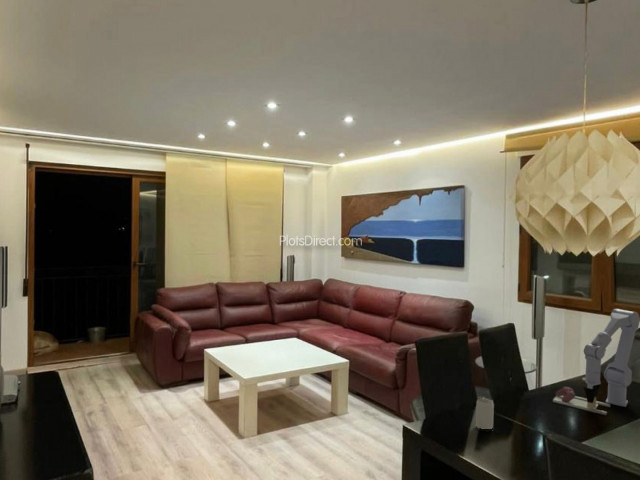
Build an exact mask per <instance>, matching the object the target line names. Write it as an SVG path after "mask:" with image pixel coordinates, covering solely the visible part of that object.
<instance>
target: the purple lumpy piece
mask: <svg viewBox="0 0 640 480" xmlns="http://www.w3.org/2000/svg"><path fill="white" fill-rule="evenodd" d="M562 395H564V396H563V398H562V401H564V402H569V401H571V400H572V399H574V398H575V396H576V393H575V391H574V389H573V388H571V387H569V386H566V385H565V386H563V387H562V388H561V389H558V390H557V391H556V392H555V396H562Z"/></svg>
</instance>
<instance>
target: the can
mask: <svg viewBox="0 0 640 480" xmlns="http://www.w3.org/2000/svg"><path fill="white" fill-rule="evenodd" d="M494 408H495V404H494V400H493V398H492V397H488V396H478V397H477V400H476V407H475V427H476V426H477V427H478V428H481V429H492V428H493V429H494V413H495V411H494Z"/></svg>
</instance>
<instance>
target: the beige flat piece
mask: <svg viewBox="0 0 640 480" xmlns="http://www.w3.org/2000/svg"><path fill="white" fill-rule="evenodd" d="M562 398H563V396H557V395H555V397H553V399H556V400H560V401H562ZM596 401H597V396H596V397H594V401H593V403H589V402H587V401H583V400H579V399H575V398H574V399H572V400H571V401H569V402H568V403H572V404H576V405H580V406H584V407H588V408H592V409H597V408H598V407H599V405H598V404H596Z"/></svg>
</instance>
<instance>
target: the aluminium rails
mask: <svg viewBox="0 0 640 480" xmlns="http://www.w3.org/2000/svg"><path fill="white" fill-rule="evenodd" d="M562 396H564V395H562ZM575 399H579V400H583V401H587V397H586V398H585V397H581V396H576V395H575ZM552 403H556V404H559V405H563V406H564V405H565V406H567V407H572V408H574V409H580V410H584V411H587V412H591V413H595V414H600V415H604V416H607V413H608V412H607V411H605V410H600V409H597V408H596V409H592V408H588V407H584V406H580V405H576V404H572V403H568V402H564V401H560V400H556V399H554V398H553V399H552ZM596 404H598V406H602V407H606V408H611V403H606V402H602V401H598V400H596Z"/></svg>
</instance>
